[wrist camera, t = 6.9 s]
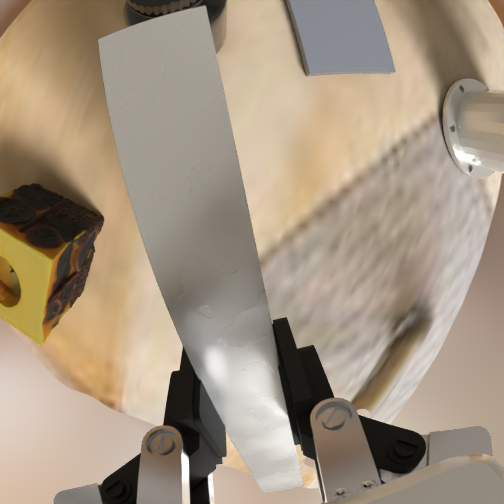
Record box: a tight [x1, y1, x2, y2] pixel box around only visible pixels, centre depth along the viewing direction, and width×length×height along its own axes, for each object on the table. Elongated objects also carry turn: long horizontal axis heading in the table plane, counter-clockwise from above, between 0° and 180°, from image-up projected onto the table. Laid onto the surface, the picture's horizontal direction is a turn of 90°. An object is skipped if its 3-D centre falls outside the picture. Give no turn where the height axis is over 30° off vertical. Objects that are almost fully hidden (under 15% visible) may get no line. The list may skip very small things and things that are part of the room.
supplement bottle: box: [124, 0, 227, 54], centre depth 14 cm, size 7×7×12 cm
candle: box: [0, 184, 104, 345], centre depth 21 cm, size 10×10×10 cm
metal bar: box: [98, 6, 303, 493], centre depth 10 cm, size 2×22×4 cm, turn 11°
